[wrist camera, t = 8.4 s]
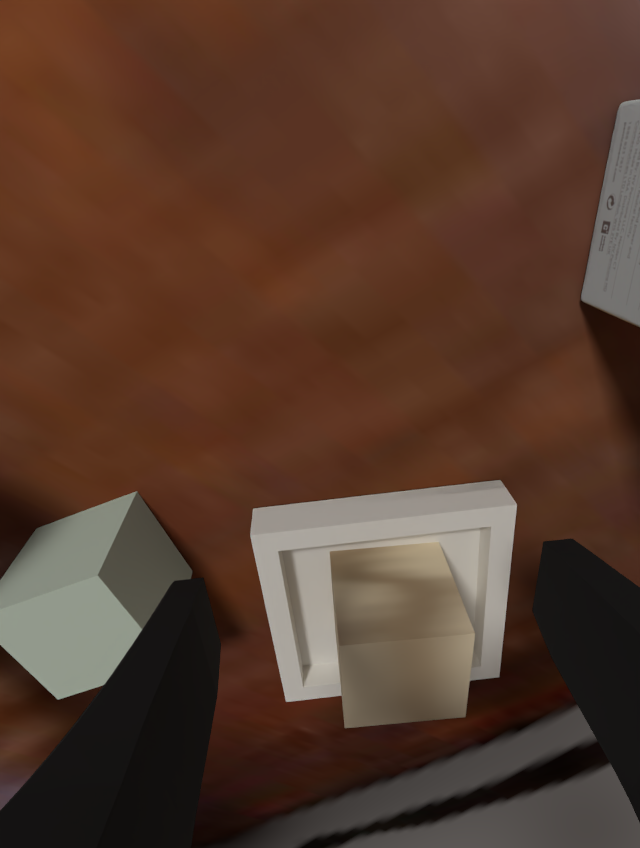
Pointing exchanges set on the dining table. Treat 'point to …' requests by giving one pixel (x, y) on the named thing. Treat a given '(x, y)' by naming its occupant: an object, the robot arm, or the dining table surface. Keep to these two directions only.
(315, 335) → the dining table surface
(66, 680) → the sage cube
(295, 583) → the tray
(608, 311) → the small box
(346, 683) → the maple cube
